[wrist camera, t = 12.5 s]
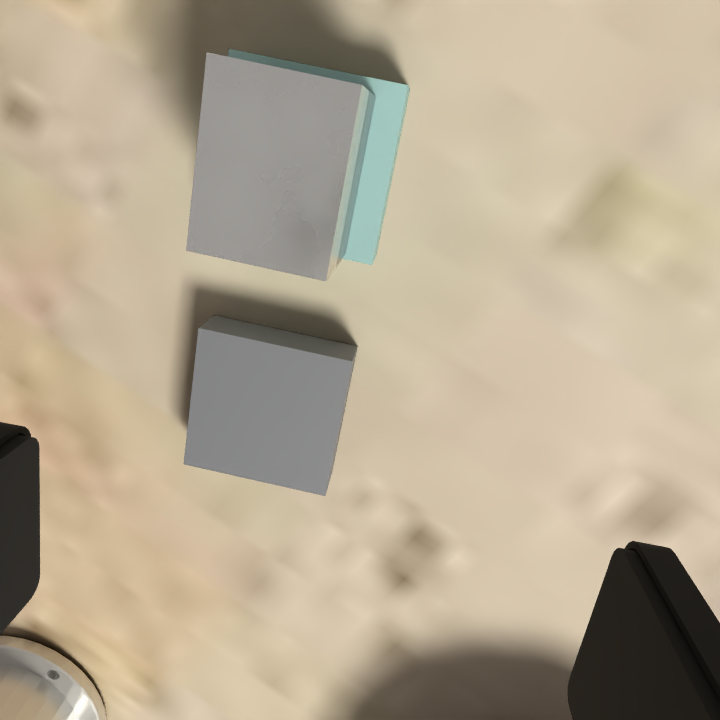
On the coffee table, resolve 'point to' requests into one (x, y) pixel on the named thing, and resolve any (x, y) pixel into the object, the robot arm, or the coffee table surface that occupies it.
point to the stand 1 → (377, 151)
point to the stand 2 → (267, 403)
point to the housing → (277, 166)
